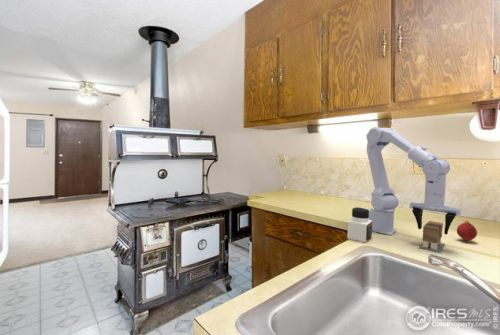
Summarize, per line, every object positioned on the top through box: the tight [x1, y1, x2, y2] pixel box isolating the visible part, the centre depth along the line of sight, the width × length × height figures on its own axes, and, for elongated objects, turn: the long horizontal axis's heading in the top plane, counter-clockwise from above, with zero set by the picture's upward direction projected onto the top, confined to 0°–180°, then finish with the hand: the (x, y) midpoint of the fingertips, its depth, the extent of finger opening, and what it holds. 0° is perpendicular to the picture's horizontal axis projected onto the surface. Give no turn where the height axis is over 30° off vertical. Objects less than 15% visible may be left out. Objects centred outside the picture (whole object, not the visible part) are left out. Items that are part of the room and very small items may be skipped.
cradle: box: [418, 237, 446, 254], centre depth 90 cm, size 10×6×3 cm, turn 134°
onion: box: [456, 220, 478, 242], centre depth 95 cm, size 6×6×8 cm
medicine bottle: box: [347, 206, 373, 244], centre depth 98 cm, size 7×7×12 cm
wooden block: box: [422, 220, 444, 244], centre depth 90 cm, size 10×4×5 cm, turn 134°
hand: (432, 231), depth 90 cm, fingers open, 7 cm apart
